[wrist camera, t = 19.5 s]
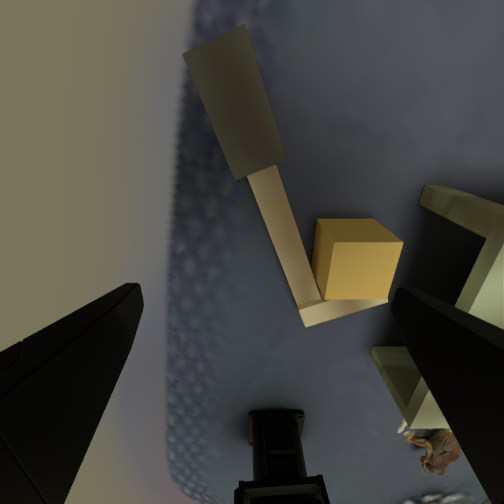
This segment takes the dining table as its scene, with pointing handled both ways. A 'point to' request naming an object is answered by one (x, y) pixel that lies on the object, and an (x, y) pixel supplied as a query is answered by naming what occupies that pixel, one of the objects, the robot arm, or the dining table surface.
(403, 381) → the sage cubby
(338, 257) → the ochre cube
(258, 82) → the crook tool
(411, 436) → the frog figurine
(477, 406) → the robot arm
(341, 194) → the dining table surface
